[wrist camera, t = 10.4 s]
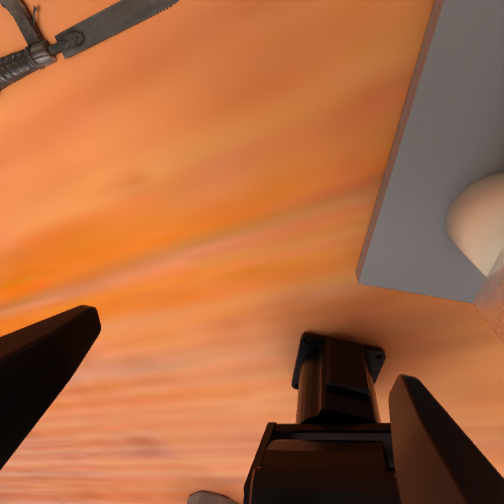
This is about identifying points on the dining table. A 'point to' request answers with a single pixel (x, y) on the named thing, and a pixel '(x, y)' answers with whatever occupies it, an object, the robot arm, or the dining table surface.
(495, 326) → the spanner
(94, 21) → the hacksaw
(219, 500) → the coffeepot
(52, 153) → the dining table surface
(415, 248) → the tool rack
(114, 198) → the dining table surface
